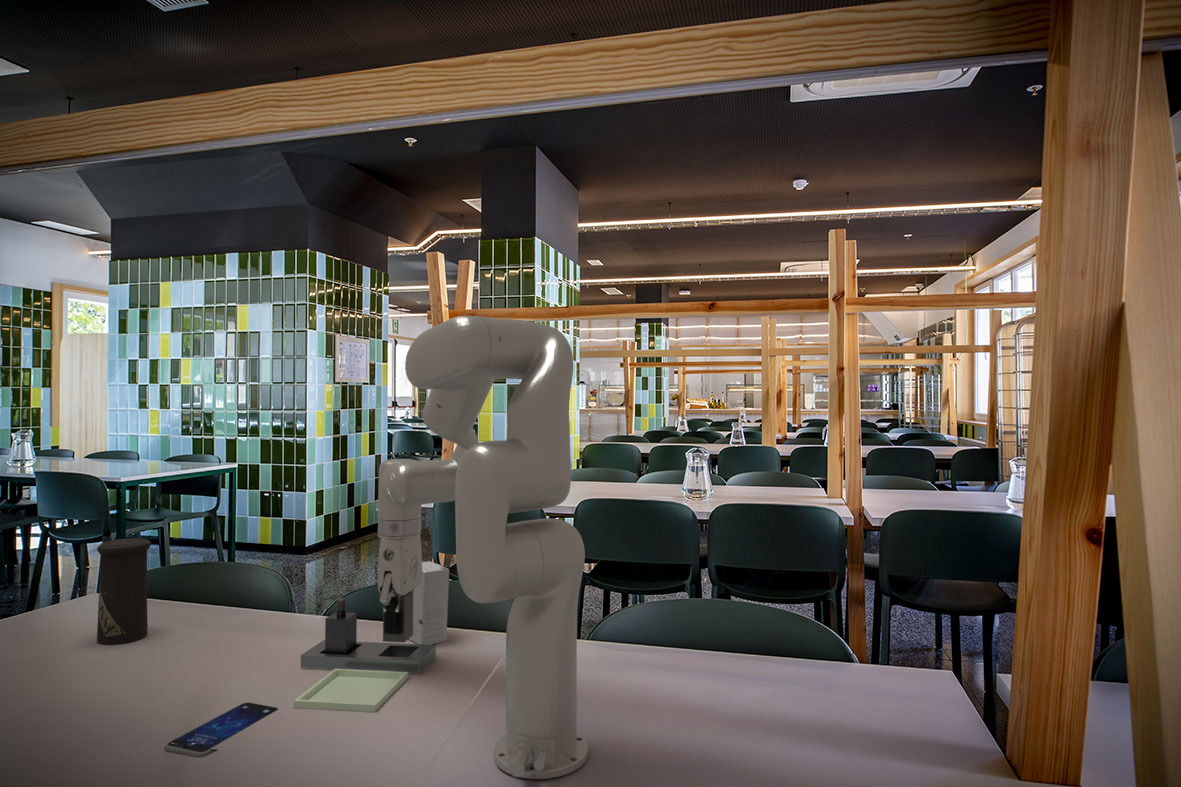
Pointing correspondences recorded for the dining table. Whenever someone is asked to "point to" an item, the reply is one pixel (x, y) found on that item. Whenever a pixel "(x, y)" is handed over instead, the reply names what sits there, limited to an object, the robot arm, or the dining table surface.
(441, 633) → the skincare box
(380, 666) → the grey two-slot holder
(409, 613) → the plug
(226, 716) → the smartphone
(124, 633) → the container
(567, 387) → the robot arm
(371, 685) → the tray
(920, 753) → the dining table surface
